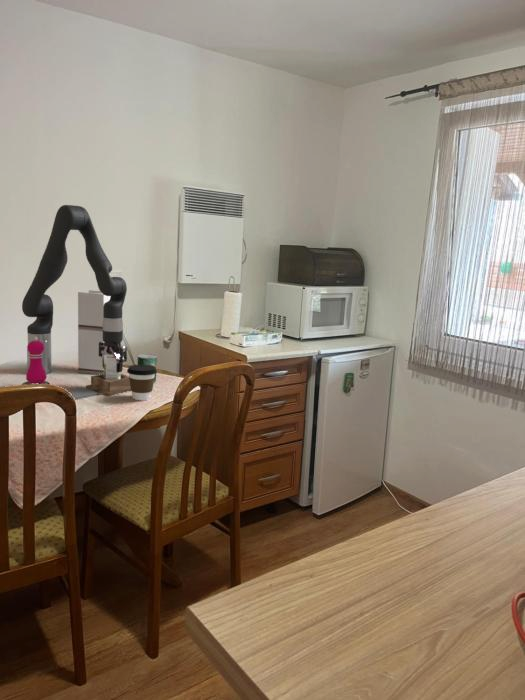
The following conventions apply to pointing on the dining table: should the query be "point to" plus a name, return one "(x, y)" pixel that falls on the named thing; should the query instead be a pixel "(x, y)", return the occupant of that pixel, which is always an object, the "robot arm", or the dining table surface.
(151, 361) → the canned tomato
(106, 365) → the syrup box
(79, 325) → the banded white pillar
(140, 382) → the coffee cup
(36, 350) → the pepper mill
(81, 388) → the mat
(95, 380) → the wooden tray
